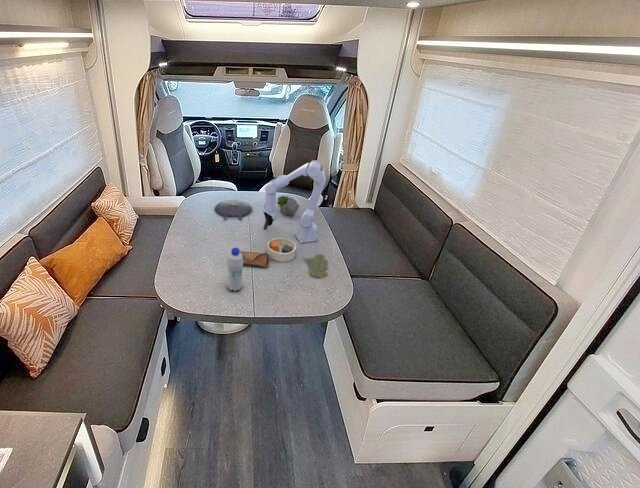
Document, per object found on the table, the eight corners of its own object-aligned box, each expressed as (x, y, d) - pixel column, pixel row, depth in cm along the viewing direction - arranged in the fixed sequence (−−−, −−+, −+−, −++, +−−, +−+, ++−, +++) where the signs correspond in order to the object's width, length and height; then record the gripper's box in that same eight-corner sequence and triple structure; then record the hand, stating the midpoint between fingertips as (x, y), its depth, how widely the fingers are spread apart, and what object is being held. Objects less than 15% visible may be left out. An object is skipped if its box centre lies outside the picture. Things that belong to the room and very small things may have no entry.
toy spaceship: (252, 222, 188) (252, 217, 187) (212, 220, 188) (212, 216, 187) (251, 201, 214) (251, 197, 213) (216, 200, 214) (216, 196, 213)
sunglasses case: (230, 265, 148) (231, 250, 149) (231, 263, 155) (232, 250, 156) (268, 268, 147) (269, 253, 148) (267, 266, 154) (268, 252, 155)
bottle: (226, 282, 137) (226, 244, 130) (241, 282, 138) (242, 243, 130) (227, 293, 131) (227, 253, 123) (243, 292, 132) (244, 253, 124)
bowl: (288, 244, 167) (288, 236, 165) (299, 259, 154) (300, 251, 153) (263, 247, 163) (263, 239, 161) (273, 264, 151) (273, 255, 149)
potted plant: (289, 216, 189) (269, 203, 195) (292, 221, 200) (273, 209, 206) (300, 200, 190) (280, 188, 196) (302, 205, 202) (283, 194, 208)
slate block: (284, 251, 160) (284, 244, 158) (291, 253, 158) (292, 247, 156) (281, 255, 157) (281, 248, 155) (288, 257, 155) (289, 251, 153)
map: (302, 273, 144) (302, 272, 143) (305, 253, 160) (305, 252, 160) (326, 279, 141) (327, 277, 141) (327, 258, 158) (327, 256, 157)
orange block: (271, 247, 163) (271, 241, 161) (278, 248, 162) (279, 242, 160) (270, 252, 159) (270, 245, 157) (278, 253, 158) (278, 246, 157)
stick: (266, 230, 177) (270, 216, 174) (263, 229, 177) (267, 215, 174) (266, 228, 179) (271, 214, 175) (263, 227, 179) (267, 213, 176)
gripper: (259, 198, 177) (257, 219, 183) (268, 209, 164) (266, 231, 170) (270, 196, 179) (269, 217, 184) (280, 208, 166) (278, 230, 172)
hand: (268, 224), depth 177 cm, fingers closed on stick, 2 cm apart
